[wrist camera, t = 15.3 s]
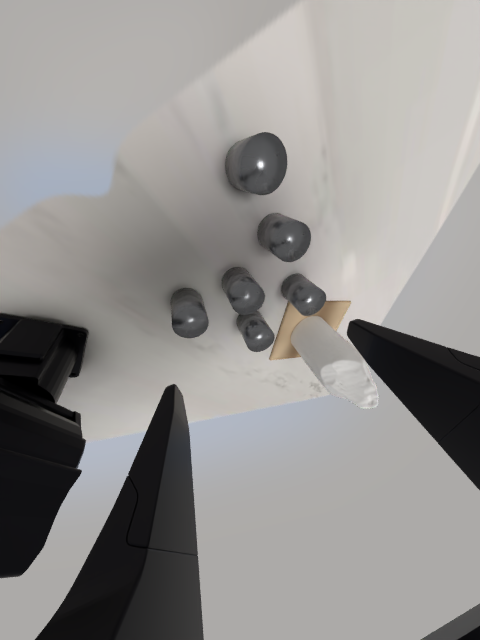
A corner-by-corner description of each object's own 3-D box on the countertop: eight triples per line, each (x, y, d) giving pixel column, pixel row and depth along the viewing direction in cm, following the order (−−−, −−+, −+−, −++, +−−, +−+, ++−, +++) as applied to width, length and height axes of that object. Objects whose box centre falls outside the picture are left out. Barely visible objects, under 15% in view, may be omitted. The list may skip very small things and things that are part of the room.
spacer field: (270, 337, 28) (283, 357, 25) (166, 310, 21) (167, 334, 18) (350, 222, 22) (381, 230, 19) (237, 129, 15) (256, 118, 12)
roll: (370, 389, 18) (411, 382, 20) (299, 314, 27) (331, 315, 29) (338, 427, 21) (377, 418, 23) (284, 348, 30) (315, 347, 32)
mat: (269, 358, 31) (270, 360, 31) (288, 301, 26) (289, 302, 25) (322, 353, 34) (323, 354, 34) (349, 301, 29) (351, 302, 29)
